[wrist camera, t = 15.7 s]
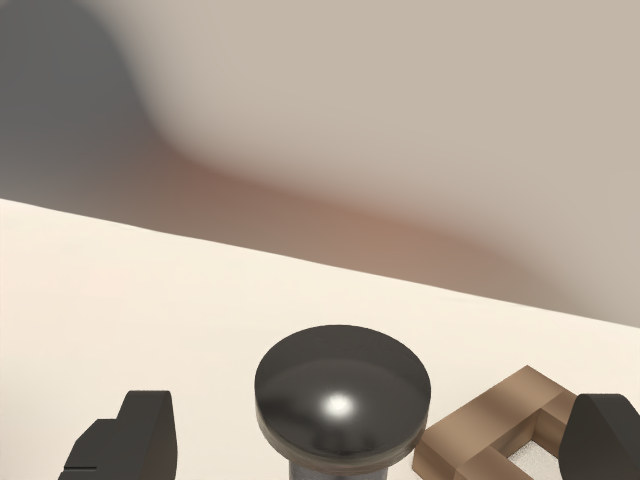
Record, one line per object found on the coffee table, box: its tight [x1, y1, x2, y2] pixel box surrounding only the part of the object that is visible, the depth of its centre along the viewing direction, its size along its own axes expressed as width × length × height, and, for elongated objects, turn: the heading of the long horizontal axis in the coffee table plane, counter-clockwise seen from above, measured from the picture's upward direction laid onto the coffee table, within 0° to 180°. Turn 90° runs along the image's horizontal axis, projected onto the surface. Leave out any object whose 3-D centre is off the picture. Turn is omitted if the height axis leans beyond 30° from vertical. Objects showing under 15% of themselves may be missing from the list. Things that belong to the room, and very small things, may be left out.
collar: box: [412, 365, 577, 480], centre depth 34 cm, size 12×12×3 cm
